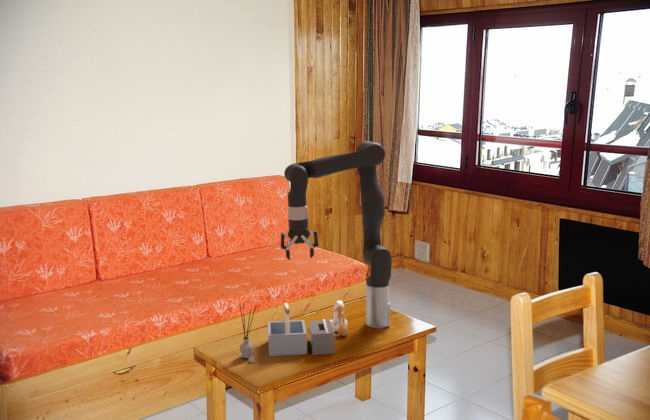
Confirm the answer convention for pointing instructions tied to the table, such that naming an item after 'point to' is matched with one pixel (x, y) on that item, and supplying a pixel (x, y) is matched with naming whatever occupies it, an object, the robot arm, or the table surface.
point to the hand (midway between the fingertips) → (300, 258)
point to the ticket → (287, 318)
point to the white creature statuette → (335, 318)
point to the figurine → (342, 329)
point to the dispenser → (321, 337)
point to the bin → (287, 338)
